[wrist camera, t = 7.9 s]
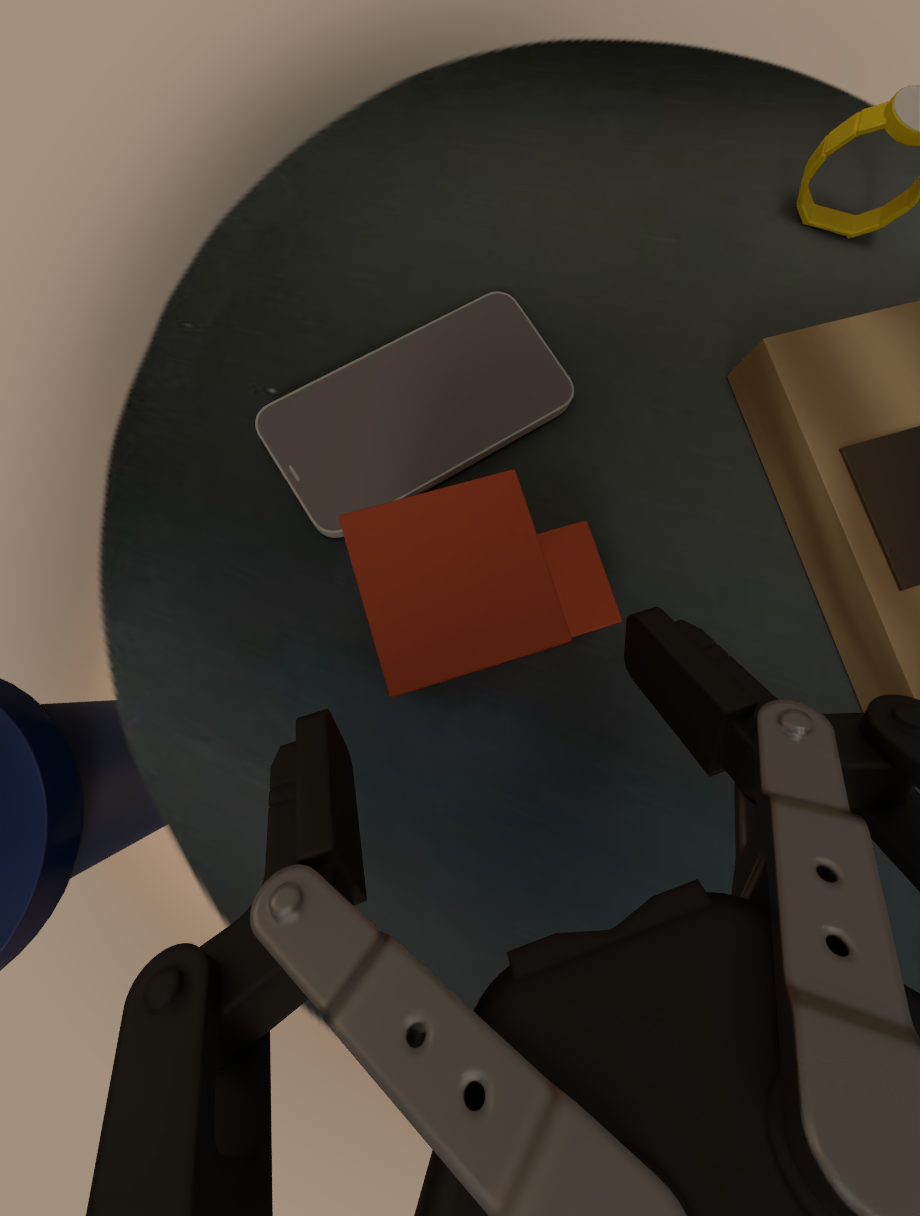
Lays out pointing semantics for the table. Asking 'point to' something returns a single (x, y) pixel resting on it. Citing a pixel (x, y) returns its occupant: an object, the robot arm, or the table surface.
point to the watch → (905, 118)
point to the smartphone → (414, 410)
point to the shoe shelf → (849, 479)
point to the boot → (471, 581)
